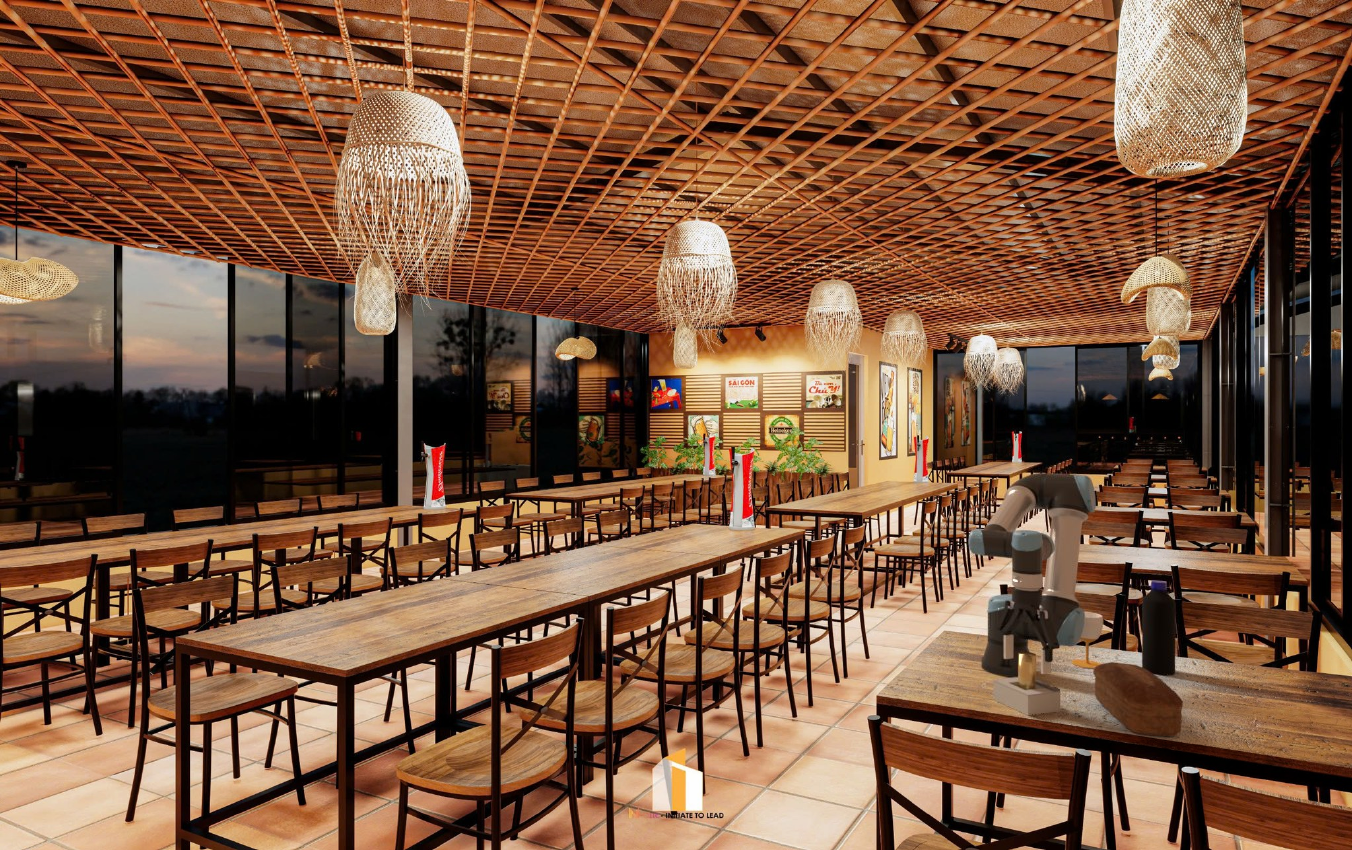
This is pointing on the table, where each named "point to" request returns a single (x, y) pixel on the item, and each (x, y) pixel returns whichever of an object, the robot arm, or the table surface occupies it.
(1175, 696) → the bread
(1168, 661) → the bottle
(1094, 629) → the cup
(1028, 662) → the golden cylinder
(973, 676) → the table surface
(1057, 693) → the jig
